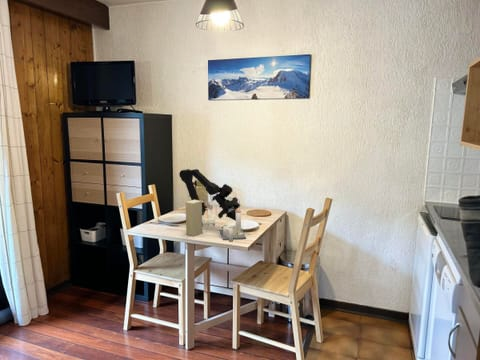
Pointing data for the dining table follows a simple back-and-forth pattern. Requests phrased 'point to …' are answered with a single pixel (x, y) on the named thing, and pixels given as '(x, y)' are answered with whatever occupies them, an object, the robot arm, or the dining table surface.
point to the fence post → (237, 223)
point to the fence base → (228, 232)
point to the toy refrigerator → (194, 217)
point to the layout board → (234, 235)
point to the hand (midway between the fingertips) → (237, 220)
